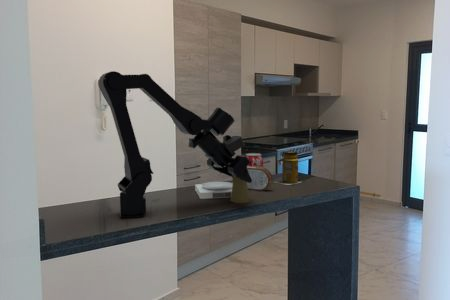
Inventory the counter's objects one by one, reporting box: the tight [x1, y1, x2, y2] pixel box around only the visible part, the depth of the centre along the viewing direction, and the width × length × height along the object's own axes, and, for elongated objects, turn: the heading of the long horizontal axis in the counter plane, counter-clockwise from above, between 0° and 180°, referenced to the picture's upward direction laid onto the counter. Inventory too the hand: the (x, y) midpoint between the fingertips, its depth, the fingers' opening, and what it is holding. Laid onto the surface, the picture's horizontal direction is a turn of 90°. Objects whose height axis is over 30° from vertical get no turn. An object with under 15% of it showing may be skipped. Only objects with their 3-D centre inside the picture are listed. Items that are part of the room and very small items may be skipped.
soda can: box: [245, 152, 264, 167], centre depth 152 cm, size 7×7×12 cm
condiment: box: [275, 150, 302, 186], centre depth 159 cm, size 7×8×12 cm
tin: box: [231, 166, 274, 192], centre depth 147 cm, size 15×3×8 cm, turn 61°
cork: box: [230, 169, 250, 204], centre depth 129 cm, size 6×6×11 cm
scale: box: [194, 181, 233, 200], centre depth 140 cm, size 14×14×3 cm
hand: (243, 179), depth 130 cm, fingers open, 8 cm apart
